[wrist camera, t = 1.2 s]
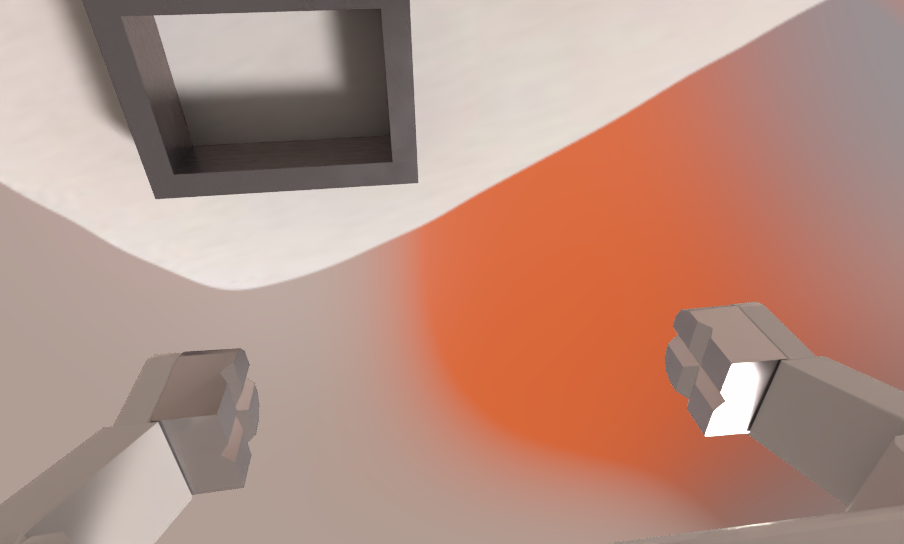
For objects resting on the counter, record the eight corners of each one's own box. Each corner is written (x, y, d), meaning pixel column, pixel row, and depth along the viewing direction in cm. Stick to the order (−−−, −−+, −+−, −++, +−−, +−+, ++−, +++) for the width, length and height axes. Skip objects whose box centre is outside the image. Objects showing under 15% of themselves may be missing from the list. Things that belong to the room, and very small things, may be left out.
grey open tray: (110, -29, 27) (75, -17, 24) (403, -36, 29) (408, -25, 25) (176, 168, 34) (155, 199, 30) (413, 155, 35) (418, 182, 32)
